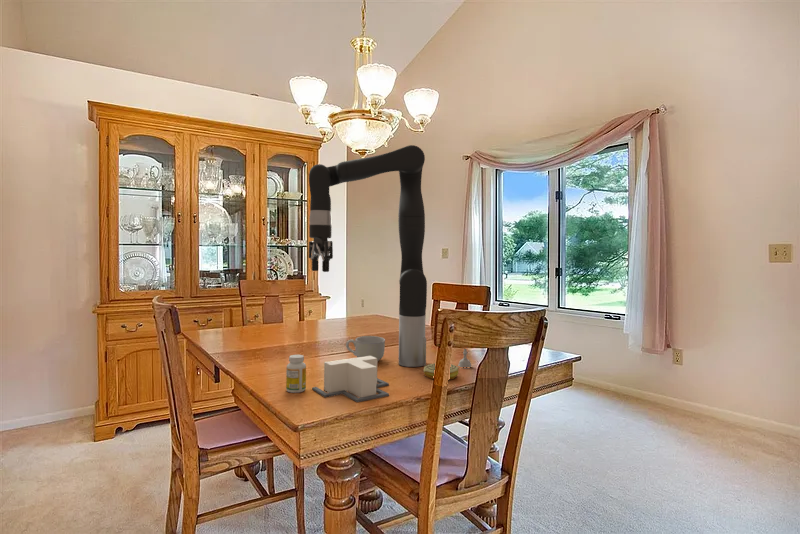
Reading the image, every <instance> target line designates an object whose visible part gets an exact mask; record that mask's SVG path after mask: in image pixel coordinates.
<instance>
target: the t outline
mask: <svg viewBox="0 0 800 534" xmlns="http://www.w3.org/2000/svg"><path fill="white" fill-rule="evenodd" d="M387 386H390V383H389V382H386V381H384V380H382V379H380V378H378V377H377V384H376V395H371V396H366V397H361V398H359V397H357V396H356V395H354V394H352V393H350V392H348V391H345V390H342V391H337V392H331V393H328V392H326V391H324V390H323V389H321V388H319V387H318V386H313V387H312V388H311V391H314V392H315V391H316V392H315V393H317V394H319V395H320V394H321V395H320V396H322V397H323V396H324V397H323V398H330V397H335V396H340V394H341V395H344V396H345V397H347V398H349V399H350V400H352V401H354V402H356V403H359V402H365V401H370V400H375V399H380V398H384V397H385V398H386V397H389V396H390V393H388V392H387V391H384V390H382V389H381V388H382V387H387ZM334 395H335V396H334ZM329 396H330V397H329Z"/></svg>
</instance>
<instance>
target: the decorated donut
mask: <svg viewBox="0 0 800 534" xmlns="http://www.w3.org/2000/svg"><path fill="white" fill-rule="evenodd" d="M435 363H436V362H434V363H429V364H426V366H423V374H424V376H425V377H426V378H428V379H431V380H434V379H433V376H434V370H435ZM450 364H451V367H450V379H451V380H455V379H456V377H457V376H458V375H459V367H458V365H457V366H456V365H454V364H453V363H450Z"/></svg>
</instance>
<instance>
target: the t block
mask: <svg viewBox="0 0 800 534" xmlns="http://www.w3.org/2000/svg"><path fill="white" fill-rule="evenodd" d="M323 365H324V366H323V368H324V369H323V391H324V390H325V391H324V392H326V391H327V392H326V393H331V392H337V391H342V390H345V391H347V392H349V393H351V394H352V395H354V396H356V397H358V398H361V397H366V396H371V395H376V394H377V392H376V384H378V382H377V378H378V361H377V358H375V357H373V356H364V357H357V356H356V357H352V358H351V357H350V358H344V359H337V360H331V361H324V363H323Z"/></svg>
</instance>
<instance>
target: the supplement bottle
mask: <svg viewBox="0 0 800 534" xmlns="http://www.w3.org/2000/svg"><path fill="white" fill-rule="evenodd" d="M304 357H305V355H303V354H292V355H291V354H290V355H289V357H288V361H289V362H288V364H287V365H286V371H285V372H286V374H285V375H286V380H285V381H286V382H285V383H286V386H285V390H286V392H288V393H292V394H293V393H294V394H297V393H303V392H304V391H306V389H307V386H306V385H307V384H306V382H307V365H306V363H305V362H304V360H305V358H304Z"/></svg>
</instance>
